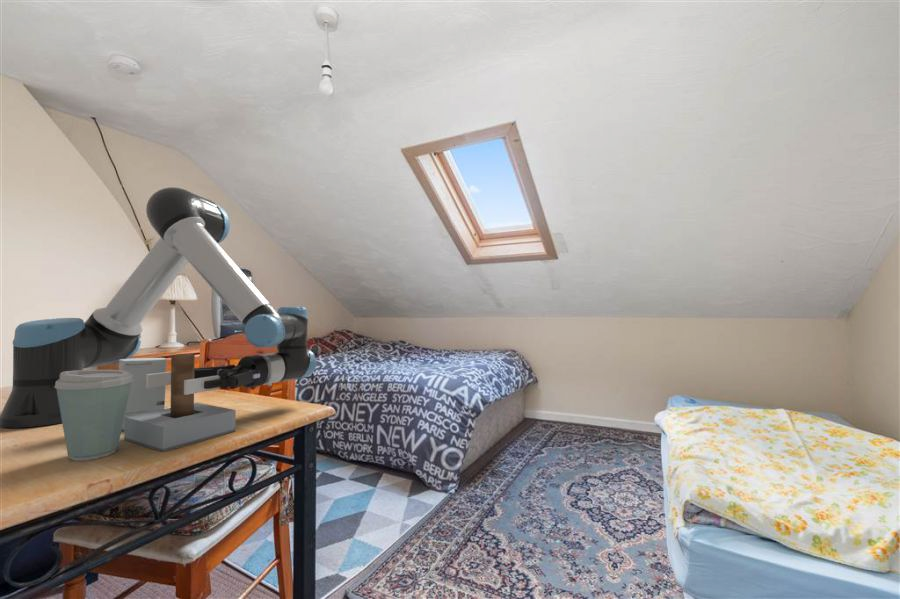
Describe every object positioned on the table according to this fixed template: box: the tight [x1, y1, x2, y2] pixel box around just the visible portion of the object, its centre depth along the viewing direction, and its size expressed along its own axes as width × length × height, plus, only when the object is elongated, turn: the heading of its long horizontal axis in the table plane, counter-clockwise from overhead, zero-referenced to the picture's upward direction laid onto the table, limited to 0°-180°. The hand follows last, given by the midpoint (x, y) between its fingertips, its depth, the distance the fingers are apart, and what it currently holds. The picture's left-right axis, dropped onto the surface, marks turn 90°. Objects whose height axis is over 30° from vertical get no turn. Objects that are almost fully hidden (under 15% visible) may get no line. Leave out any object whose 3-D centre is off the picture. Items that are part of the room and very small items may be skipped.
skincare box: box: [118, 357, 168, 432], centre depth 90 cm, size 8×6×15 cm
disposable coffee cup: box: [55, 369, 133, 462], centre depth 71 cm, size 11×11×15 cm
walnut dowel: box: [170, 353, 196, 418], centre depth 82 cm, size 4×4×16 cm
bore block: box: [123, 402, 236, 453], centre depth 82 cm, size 14×14×4 cm
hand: (165, 384), depth 80 cm, fingers open, 13 cm apart
